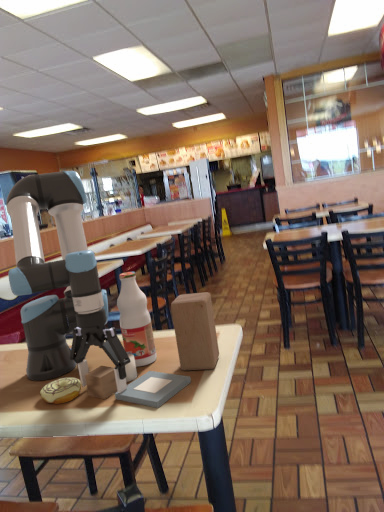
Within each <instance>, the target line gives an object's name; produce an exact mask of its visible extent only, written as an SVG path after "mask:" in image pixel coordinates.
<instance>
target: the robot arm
mask: <svg viewBox="0 0 384 512" xmlns="http://www.w3.org/2000/svg"><path fill="white" fill-rule="evenodd" d="M85 204H87V194H86V192H85V188H84V184H83V182H82V179H81V176H80V174H79V173H78V172H77V171H75V170H62V171H55V172H54V171H52V172H46V173H39V174H38V173H37V174H29V175H26V176H24V177H23V178H20V179H19V180H18V181H17V182H15V184H13V186H12V187H11V189H10V191H9V192H8V194H7V197H6V211H7V214H8V215H9V217H10V219H11V226H12V236H13V237H12V238H13V247H14V256H15V257H14V258H15V265H16V266H15V267H14V268H10V269H9V271H8V273H7V274H8V281H9V287H10V290H11V293H12V294H13V295H14V296H15V297H16V296H17V297H18V296H20V297H21V296H26V295H32V294H37V293H41V292H46V291H49V290H55V289H56V290H57V289H62V288H66V289H65V290H64V291H63V294H64V297H62V298H59V296H58V295H57V294H51V295H45V296H42V297H39V298H37V299H35V300H34V299H33V300H31V301H30V302H27V303H25V304H24V305H23V306H22V307H21V309H20V317H21V321H20V322H21V324H22V327H23V332H24V337H25V342H26V346H27V350H28V352H27V353H28V354H27V361H26V369H25V370H26V371H25V372H26V376H27V379H29V380H30V381H45V380H51V379H55V378H58V377H61V376H64V375H66V374H67V373H69V372H71V371H73V370H74V369H75V368H76V367H77V372H78V374H79V378H80V379H79V380H80V382H81V388H82V387H83V388H84V387H87V385H86V379H85V374H87V373H89V372H90V369H89V364H88V360H87V357H86V356H87V354H88V352H89V349H90V347H91V346H95V347H98V348H99V349H102V350H103V352H104V353H105V354H106V355H107V357H108V358H109V359H110V361H111V362H112V363H113V365H114V367H113V368H114V373H115V379H116V385H117V390H118V391H117V392H118V393H121V392H122V391H124V390H126V389H127V385H128V384H127V382H126V370H125V365H126V364H128V363H130V358H129V357H128V355H127V353H126V351H125V349H124V345H123V344H122V342H121V340H120V338H119V337H118V333H117V330H116V328H115V326H113V327H111V328H107V327H106V325H107V323H108V321H109V303H108V302H109V301H108V294H107V290H106V289H104V288H102V287H101V284H100V276H99V272H98V271H99V270H98V261H97V259H96V256H95V252H94V251H93V250H91V249H88V243H87V238H86V234H85V229H84V225H83V221H82V216H81V213H82V211H83V210H84V205H85ZM40 210H47V212H48V214H49V215H50V216H51V217H53V218H54V222H55V228H56V232H57V236H58V237H57V238H58V244H59V248H60V253H61V259H59V260H54V261H49V262H45V256H44V250H43V243H42V237H41V231H40V226H39V219H38V213H39V211H40ZM70 334H72V342H71V348H70V346H69V344H68V342H67V338H66V335H70ZM124 359H125V360H124ZM118 361H119V362H118ZM115 366H116V367H115Z"/></svg>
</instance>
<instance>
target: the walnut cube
mask: <svg viewBox="0 0 384 512" xmlns="http://www.w3.org/2000/svg"><path fill="white" fill-rule="evenodd" d="M114 368H115V367H111V366H105V365H100V366H98V367H97V368H94V369H93V370H90V371H89V373H87V374H85V379H86V390H87V394H88V397H92V398H95V399H101V400H106V399H107V398H109V397H111V396H112V395H114V394H115V393H116V392H118V390H117V385H116V379H115V373H114Z"/></svg>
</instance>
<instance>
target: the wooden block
mask: <svg viewBox="0 0 384 512" xmlns="http://www.w3.org/2000/svg"><path fill="white" fill-rule="evenodd" d="M170 304H171V305H170V309H171V316H172V323H173V329H174V334H175V340H176V342H175V343H176V347H177V352H178V358H179V360H178V361H179V365H180V369H181V371H196V370H197V371H198V370H213V369H215V367H216V364H217V362H218V359H219V356H220V350H219V343H218V335H217V329H216V322H215V316H214V309H213V301H212V296H211V293H210V292H208V291H206V292H195V293H184V294H179V295H178V296H176V297H175V299H174V300H173V301H172V302H171V303H170Z"/></svg>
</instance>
